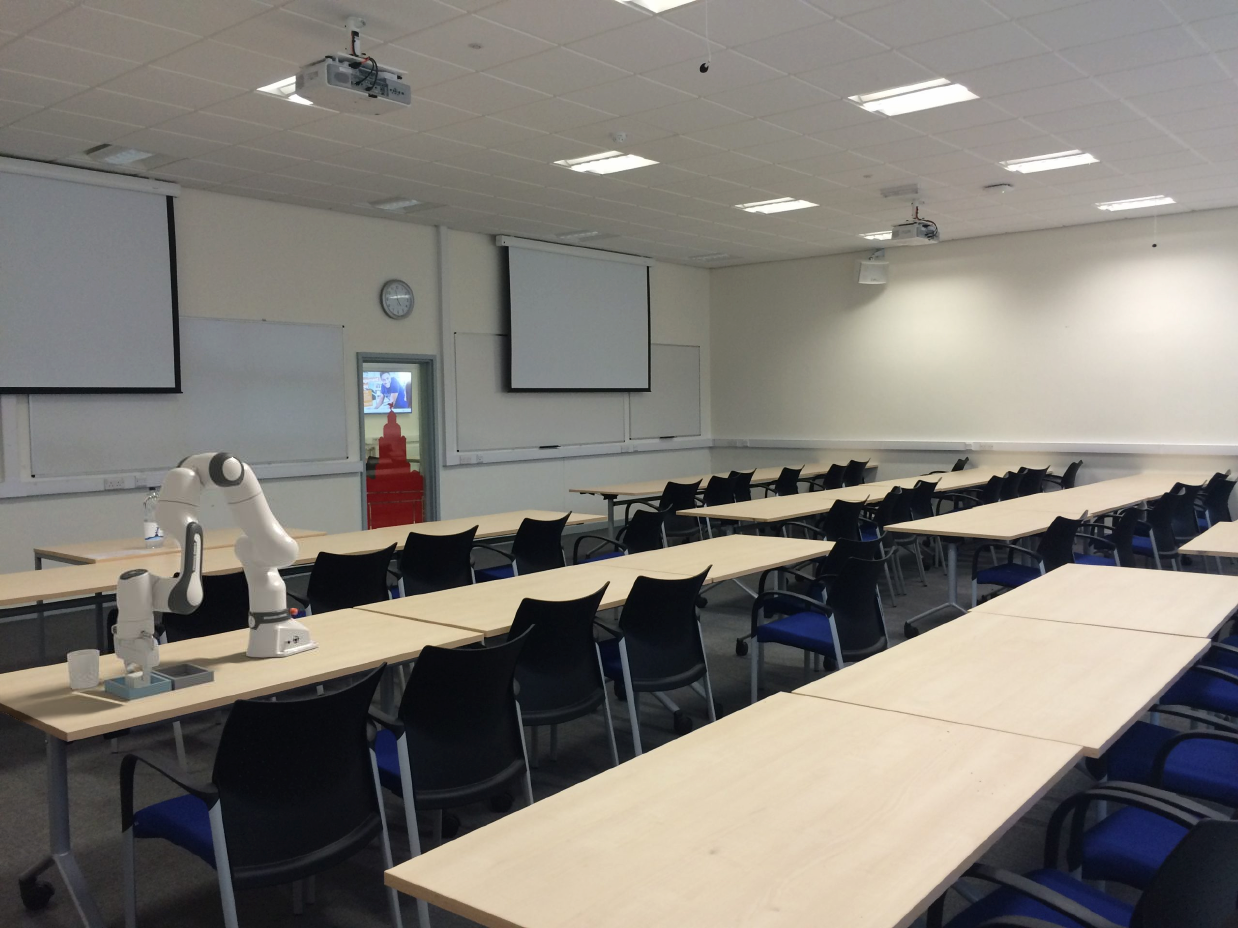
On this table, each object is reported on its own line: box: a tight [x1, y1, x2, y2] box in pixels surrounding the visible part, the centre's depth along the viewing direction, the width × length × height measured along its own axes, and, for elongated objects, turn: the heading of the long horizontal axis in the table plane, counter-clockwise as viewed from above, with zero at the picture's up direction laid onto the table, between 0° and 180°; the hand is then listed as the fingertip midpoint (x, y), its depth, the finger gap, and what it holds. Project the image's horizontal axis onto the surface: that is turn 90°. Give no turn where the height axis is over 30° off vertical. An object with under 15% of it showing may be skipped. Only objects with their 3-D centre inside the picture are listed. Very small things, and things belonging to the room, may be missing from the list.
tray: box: [151, 662, 215, 691], centre depth 262 cm, size 11×16×4 cm
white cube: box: [124, 671, 150, 689], centre depth 253 cm, size 4×4×4 cm
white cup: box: [66, 648, 100, 690], centre depth 259 cm, size 8×8×10 cm
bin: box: [104, 673, 173, 702], centre depth 253 cm, size 11×16×4 cm
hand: (138, 678), depth 253 cm, fingers open, 8 cm apart
